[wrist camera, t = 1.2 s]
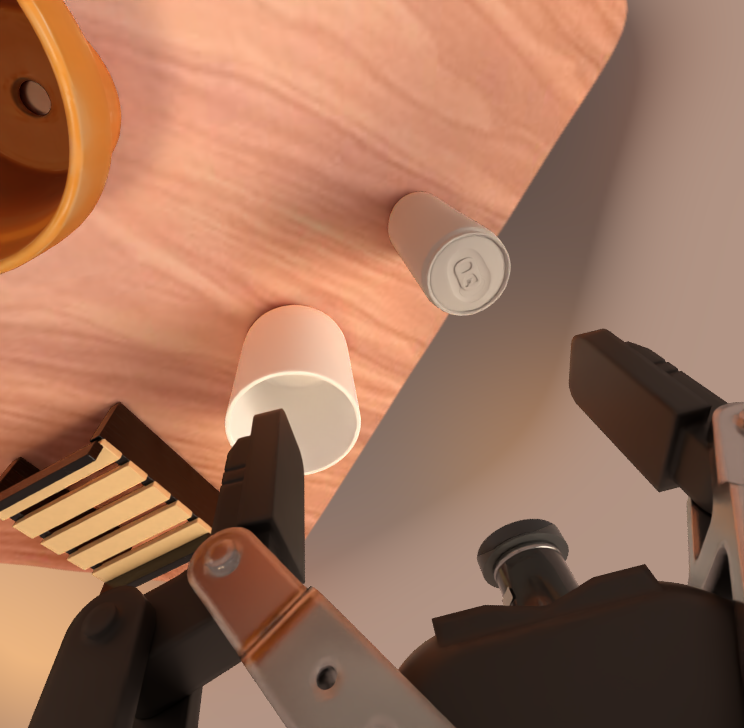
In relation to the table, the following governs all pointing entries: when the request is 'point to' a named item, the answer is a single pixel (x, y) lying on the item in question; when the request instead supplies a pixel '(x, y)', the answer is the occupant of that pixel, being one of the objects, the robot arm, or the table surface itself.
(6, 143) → the flower pot
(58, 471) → the rack
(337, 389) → the mug
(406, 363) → the table surface
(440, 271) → the beverage can
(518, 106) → the table surface
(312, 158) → the table surface
